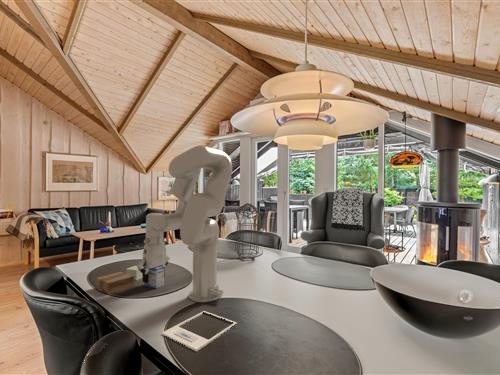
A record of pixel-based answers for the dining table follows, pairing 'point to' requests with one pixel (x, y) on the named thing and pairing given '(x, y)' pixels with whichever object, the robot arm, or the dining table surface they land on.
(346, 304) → the dining table surface
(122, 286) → the walnut block
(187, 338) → the photo frame
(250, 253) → the geometric lantern
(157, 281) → the medicine box
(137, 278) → the sage block
